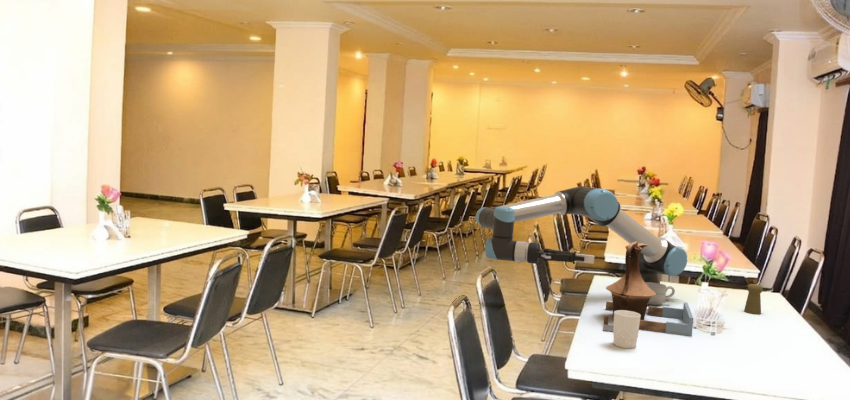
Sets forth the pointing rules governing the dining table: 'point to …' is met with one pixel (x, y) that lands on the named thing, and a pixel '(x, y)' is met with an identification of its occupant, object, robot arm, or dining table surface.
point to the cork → (753, 299)
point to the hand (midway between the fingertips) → (594, 259)
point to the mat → (608, 328)
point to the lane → (643, 323)
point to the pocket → (679, 314)
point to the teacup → (659, 293)
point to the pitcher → (631, 285)
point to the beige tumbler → (626, 328)
